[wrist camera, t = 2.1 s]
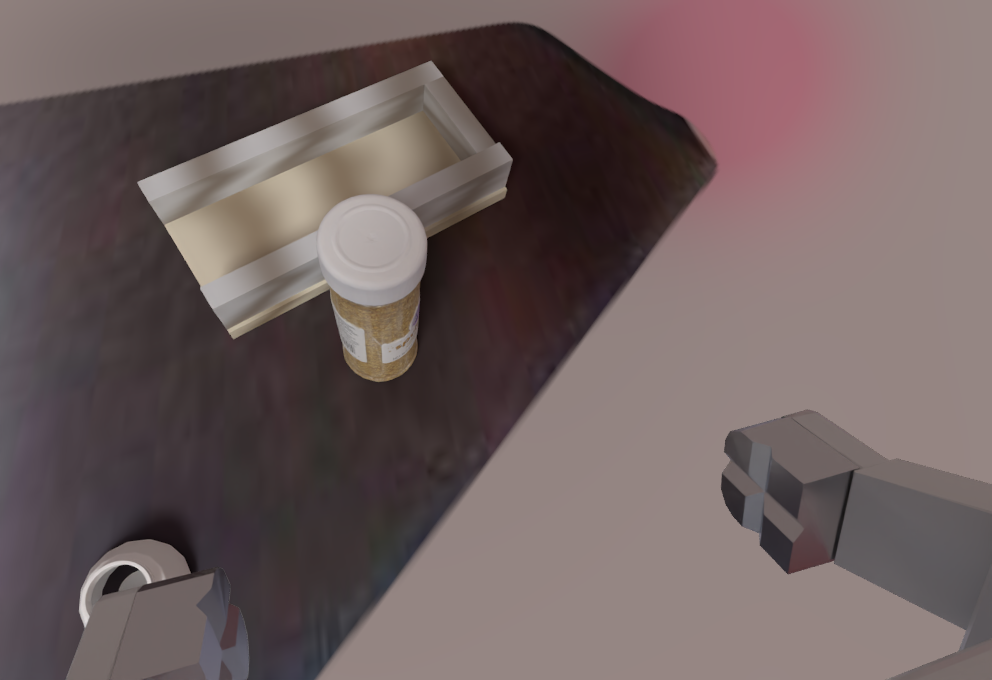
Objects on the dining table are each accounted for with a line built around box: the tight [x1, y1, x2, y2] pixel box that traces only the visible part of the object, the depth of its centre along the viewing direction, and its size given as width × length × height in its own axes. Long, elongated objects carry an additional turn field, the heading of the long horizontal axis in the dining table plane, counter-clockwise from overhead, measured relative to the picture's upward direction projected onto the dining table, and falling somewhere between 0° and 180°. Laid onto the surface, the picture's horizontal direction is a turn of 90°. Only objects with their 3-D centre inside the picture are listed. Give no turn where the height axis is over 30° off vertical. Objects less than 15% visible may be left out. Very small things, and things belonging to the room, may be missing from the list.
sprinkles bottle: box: [316, 194, 427, 382], centre depth 31 cm, size 5×5×14 cm
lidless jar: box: [79, 539, 191, 627], centre depth 30 cm, size 5×3×5 cm
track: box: [137, 61, 513, 339], centre depth 39 cm, size 20×10×4 cm, turn 125°
